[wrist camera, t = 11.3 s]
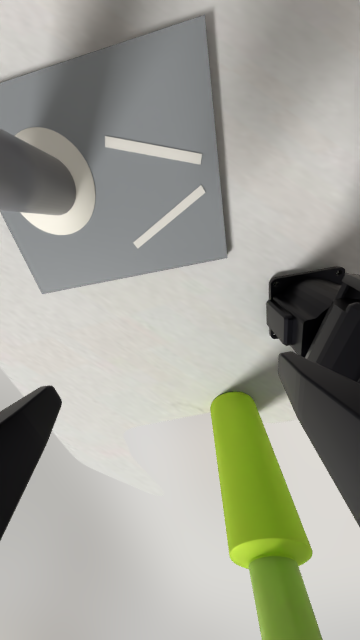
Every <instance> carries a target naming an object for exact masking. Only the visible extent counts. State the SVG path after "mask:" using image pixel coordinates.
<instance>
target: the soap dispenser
mask: <svg viewBox="0 0 360 640" xmlns="http://www.w3.org/2000/svg"><path fill="white" fill-rule="evenodd" d="M210 410H211V418H212V425H213V433H214V441H215V448H216V455H217V464H218V471H219V479H220V486H221V494H222V501H223V509H224V516H225V524H226V532H227V540H228V546H229V555H230V558H231V560H232V561H233V562H234V563H235V564H237V565H239V566H241V567H244V568H247V569H249V571H250V577H251V582H252V588H253V593H254V598H255V604H256V610H257V615H258V621H259V626H260V631H261V637H262V640H322V637H321V634H320V631H319V628H318V624H317V621H316V618H315V615H314V612H313V609H312V606H311V603H310V600H309V597H308V594H307V591H306V588H305V585H304V582H303V579H302V576H301V573H300V570H299V567H298V566H300V565H302V564H304V563H305V562H307V561H308V560H309V559H310V558H311V556H312V549H311V546H310V544H309V541H308V539H307V536H306V534H305V531H304V528H303V526H302V523H301V521H300V518H299V515H298V513H297V510H296V508H295V505H294V503H293V500H292V498H291V495H290V492H289V490H288V487H287V484H286V482H285V479H284V477H283V474H282V472H281V469H280V466H279V464H278V462H277V459H276V456H275V454H274V451H273V448H272V446H271V443H270V441H269V438H268V436H267V433H266V431H265V428H264V425H263V423H262V420H261V418H260V415H259V412H258V410H257V407H256V405H255V402H254V400H253V399H252V398H251V397H250V396H249V395H247V394H245V393H242V392H227V393H224V394H222V395H220V396H218V397H217V398H215V399H214V401H213V402H212V404H211V408H210Z"/></svg>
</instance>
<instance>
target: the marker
mask: <svg viewBox="0 0 360 640" xmlns="http://www.w3.org/2000/svg"><path fill="white" fill-rule="evenodd" d="M75 199H76V187H75V183H74V180H73V177H72V175H71V173H70V171H69V170H68V169H67V167H66V166H65V165H64V164H63V163H62V162H61V161H60V160H58V159H57V158H55V157H53V156H51V155H49V154H48V153H46V152H44V151H42V150H40V149H38V148H36V147H34V146H32V145H31V144H29V143H27V142H25V141H23V140H21V139H19V138H17V137H15V136H14V135H12V134H10V133H8V132H6V131H4V130H2V129H0V210H1V211H12V212H23V213H34V214H46V215H63V214H65V213H67V212H68V211H69V210H70V209H71V208H72V207H73V205H74V203H75Z"/></svg>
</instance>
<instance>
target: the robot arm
mask: <svg viewBox="0 0 360 640" xmlns="http://www.w3.org/2000/svg"><path fill="white" fill-rule="evenodd" d="M338 270H339V273H338V274H336V272H337V271H338ZM276 281H277V284H276V285H275V286H274V285H273V284H274V282H276ZM266 308H267V325H268V326H269V334H270V336H271V337H272V338H273V339H278V338H279V340H280V341H281V342H282V343H283V344H284V345H286V346H288V345H290V346H291V347H292V348H293V349H294V350H295V352H296V353H297V354H296V353H293V352H284V353H280V354H279V357H278V373H279V377H280V379H281V382H282V384H283V386H284V388H285V391H286V393H287V395H288V398H289V400H290V402H291V404H292V407H293V409H294V411H295V413H296V416H297V418H298V420H299V421H300V423H301V425H302V427H303V429H304V430H305V432H306V434H307V436H308V437H309V439H310V441H311V443H312V444H313V446H314V448H315V450H316V451H317V453H318V455H319V457H320V458H321V460H322V462H323V464H324V465H325V467H326V469H327V471H328V472H329V474H330V476H331V478H332V479H333V481H334V483H335V485H336V486H337V488H338V490H339V491H340V493H341V495H342V497H343V499H344V500H345V502H346V504H347V506H348V507H349V509H350V511H351V513H352V514H353V516H354V518H355V520H356V521H357V523H358V525H359V527H360V275H356V274H349V273H345V269H344V268H342V267H332V268H326V269H321V270H315V271H310V272H304V273H298V274H293V275H287V276H282V277H276V278H273V279H271V280H270V282H269V300H268V301H267V303H266ZM274 333H275V335H273V334H274ZM61 404H62V401H61V398H60V397H59V395H58V393H57V392H56V390H55V388H54V387H53V386H43V387H40V388H38V389H36V390H35V391H33V392H31V393H30V394H28V395H27V396H25V397H23V398H22V399H20V400H18V401H17V402H15V403H14V404H12V405H10V406H9V407H7V408H5V409H4V410H2V411H1V412H0V540H1V538H2V536H3V534H4V532H5V530H6V528H7V526H8V523H9V522H10V519H11V517H12V515H13V513H14V511H15V509H16V507H17V505H18V503H19V501H20V499H21V497H22V494H23V492H24V490H25V488H26V486H27V484H28V482H29V480H30V478H31V476H32V473H33V471H34V469H35V467H36V465H37V463H38V461H39V459H40V457H41V455H42V453H43V450H44V448H45V446H46V444H47V441H48V439H49V437H50V434H51V431H52V429H53V426H54V423H55V421H56V418H57V416H58V413H59V410H60V408H61Z"/></svg>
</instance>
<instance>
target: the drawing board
mask: <svg viewBox="0 0 360 640" xmlns="http://www.w3.org/2000/svg"><path fill="white" fill-rule="evenodd" d="M0 129H2V130H4V131H6V132H8V133H10V134H12V135H14V136H15V137H17V138H19V139H21V140H23V141H25V142H27V143H29V144H31V145H32V146H34V147H36V148H38V149H40V150H42V151H44V152H46V153H48V154H49V155H51V156H53V157H55V158H57V159H58V160H60V161H61V162H62V163H63V164H64V165H65V166H66V167H67V169H68V170H69V171H70V173H71V175H72V177H73V180H74V183H75V187H76V199H75V203H74V205H73V207H72V208H71V209H70V210H69V211H68V212H67V213H65V214H63V215H46V214H34V213H23V212H12V211H1V210H0V212H1V214H2V216H3V218H4V220H5V222H6V224H7V226H8V228H9V230H10V232H11V234H12V236H13V238H14V240H15V242H16V244H17V246H18V248H19V250H20V252H21V254H22V256H23V257H24V259H25V261H26V263H27V265H28V267H29V269H30V271H31V273H32V275H33V277H34V279H35V281H36V283H37V285H38V287H39V289H40V291H41V293H42V294H45V293H50V292H56V291H61V290H66V289H71V288H76V287H81V286H86V285H91V284H96V283H101V282H107V281H112V280H117V279H122V278H127V277H132V276H137V275H142V274H147V273H153V272H158V271H163V270H168V269H173V268H178V267H183V266H188V265H193V264H198V263H204V262H209V261H214V260H219V259H224V258H227V249H226V238H225V228H224V217H223V206H222V196H221V185H220V174H219V163H218V153H217V142H216V131H215V121H214V110H213V99H212V89H211V78H210V67H209V56H208V46H207V35H206V24H205V15H203V16H200V17H197V18H194V19H191V20H188V21H185V22H182V23H179V24H176V25H173V26H170V27H167V28H164V29H161V30H158V31H155V32H152V33H149V34H146V35H143V36H140V37H137V38H134V39H131V40H128V41H125V42H122V43H119V44H116V45H113V46H110V47H107V48H104V49H101V50H98V51H95V52H92V53H89V54H86V55H83V56H80V57H77V58H74V59H71V60H68V61H65V62H62V63H59V64H56V65H53V66H50V67H47V68H44V69H41V70H38V71H35V72H32V73H29V74H26V75H23V76H20V77H17V78H14V79H11V80H8V81H5V82H2V83H0Z"/></svg>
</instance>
